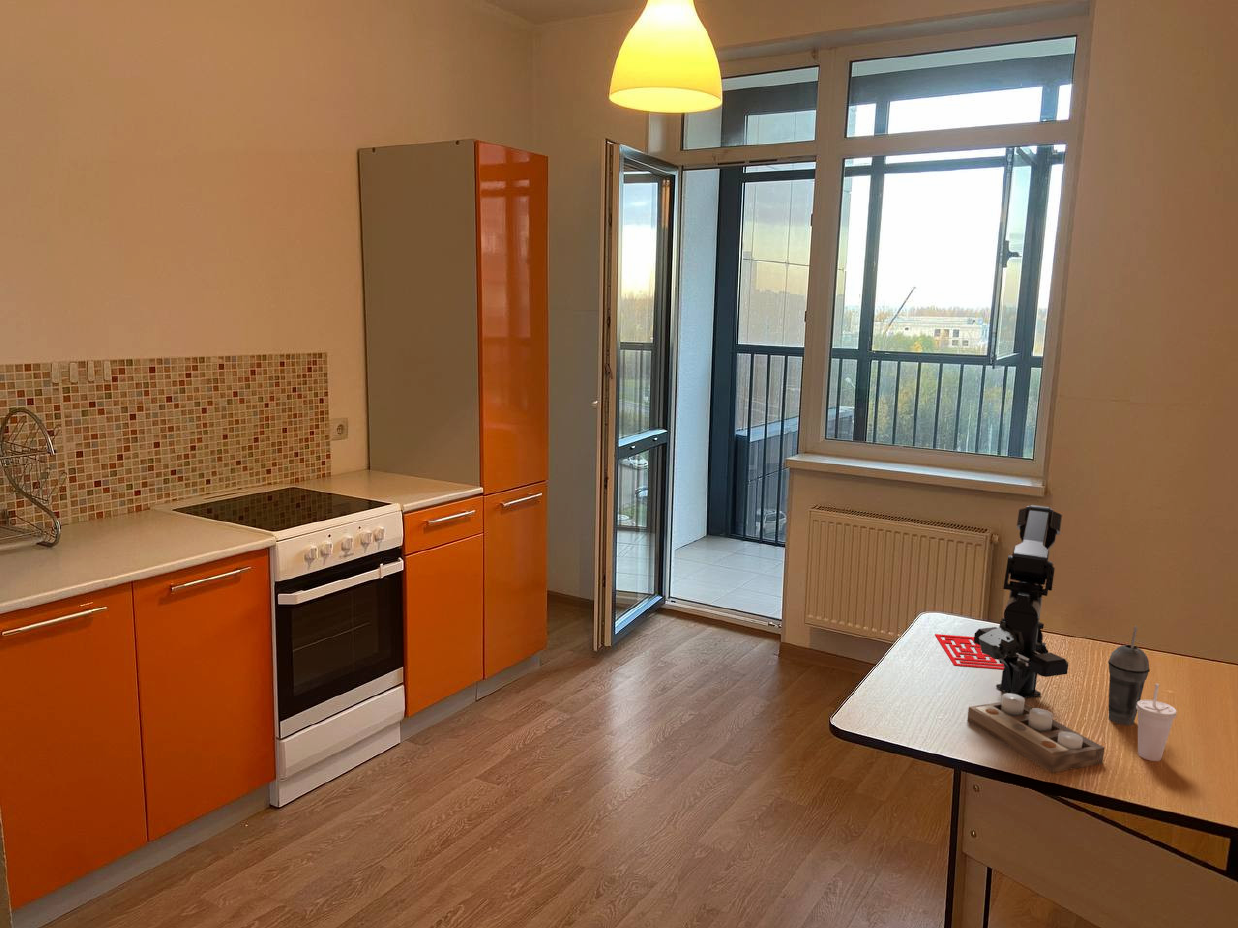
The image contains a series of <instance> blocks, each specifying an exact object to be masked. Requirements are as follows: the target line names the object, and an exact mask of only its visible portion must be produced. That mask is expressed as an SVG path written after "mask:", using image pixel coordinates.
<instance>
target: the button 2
mask: <svg viewBox="0 0 1238 928" xmlns="http://www.w3.org/2000/svg"><path fill="white" fill-rule="evenodd" d="M1082 742H1083V738H1082V737H1081V736H1080V735H1078V734H1075V733H1072V732H1066V731H1063V732H1059V734H1058V741H1057V743H1058V744H1060V745H1062V746H1064V747H1065V748H1067V749H1069V750H1076V749H1081V748H1082Z"/></svg>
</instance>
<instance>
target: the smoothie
mask: <svg viewBox="0 0 1238 928" xmlns="http://www.w3.org/2000/svg"><path fill="white" fill-rule="evenodd" d="M1159 686H1160V684H1159V683H1155V684H1154V692H1153V698H1152V699H1140V701H1138V702H1137V706H1136V708H1137V710H1138V711H1137V754H1138V756H1139V757H1141V758H1142V759H1145V760H1148V761H1153V762H1160V761H1161V760H1162V758H1163V754H1164V751H1165V748H1166V744H1167V741H1168V738H1169V735H1170V732H1171V728H1172V725H1173V722H1174V719H1176V718H1177V711H1178V710H1177V709H1176V708H1175V707H1174V706H1173V705H1172V706H1171V704H1168V703H1165V702H1163V701H1159V700H1158V695H1159V688H1160V687H1159Z"/></svg>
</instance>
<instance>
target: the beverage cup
mask: <svg viewBox="0 0 1238 928" xmlns="http://www.w3.org/2000/svg"><path fill="white" fill-rule="evenodd" d="M1137 629H1138V626H1136V625H1134V627H1133V633H1132V639H1131V644H1124V645H1120V646H1118V647H1117V648H1115V649H1114V650H1113V651H1112V653H1111V654H1110V656H1109V659H1108V661H1107V663H1108V673H1109V684H1108V685H1109V686H1108V720H1109V721H1111V722H1112V723H1115V724H1118V725H1123V726H1132V725H1134V724H1135V720H1136V717H1137V716H1138V710H1137V708H1136V706H1137V702H1138V701H1140V700H1142V699H1141V697H1142V694H1143V690H1144V687H1145V683H1146V680H1147V678H1148V676H1149V672H1151V671H1150V661H1149V657H1148V656H1147V654H1146V652H1144V650H1143V649H1141V648H1139V647H1138V646H1135V643H1136V636H1137Z"/></svg>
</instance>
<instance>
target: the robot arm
mask: <svg viewBox="0 0 1238 928" xmlns="http://www.w3.org/2000/svg"><path fill="white" fill-rule="evenodd" d="M1062 517H1063V515H1062V514H1061V513H1058V512H1057V511H1054V508H1051V507H1049V506H1043V505H1035V504H1030V505H1026V507H1025V508H1024V507H1023V508H1020V509H1019V510H1018V516H1017V522H1016V529H1017V530H1019V537H1020V541H1021V542H1020V543H1019V544H1016V545H1014V547H1013V550H1012V554H1011V555H1008V557H1007V563H1006V568H1005V575H1004V576H1005V577H1004V580H1003V581H1004V582H1003V588H1002V589H1003V590H1008V591H1009V595H1008V600H1007V602H1006V605H1005V609H1004V612H1003V617H1002V618H1001V620H1000V622H999V626H998V627H996V626H994V627H993V626H992V627H984V628H978V629H977V630H976V632H974V634H973V635H974V636H973V637H974V642H973V644H975V643H976V644H978V645H980V646H981V652H982V653H983V654H987V655H989V656H991V657H992V658H993V659H995V660H996V661H997V660H998V659H999V660H1000V661H999V660H998V661H999V664H1002V663H1003V665H1004V670H1002V674H1001V680H1000V683H997V684H995V685H996V686H995V687H996V688H997V689H998V690H999V689H1000V690H1001V691H1003V692H1004V693H1005V694H1006V693H1011V694H1016V695H1019V696H1022V697H1023V698H1024V699H1026V698H1033V697H1038V696H1039V697H1041V695H1042V693H1041V691H1038V690H1036V687H1037V679H1038V676H1040V677H1044V678H1047V677H1056V676H1062V675H1063V676H1064V675H1068V670H1069V662H1068V661H1067V659H1066V658H1065V657H1064V658H1063V657H1061V656H1060V655H1057V654H1055V653H1052V652H1049V650H1048V648H1047V646H1046V644H1047V643H1046V642H1043V638H1044V635H1043V632H1042V630H1044V626H1045V623H1043V622H1040V620H1041V618H1040V617H1041V609H1042V601H1043V596H1045V597H1047V596H1048V593H1049V591H1053V586H1054V585H1053V583H1054V576H1055V570H1056V569H1055V568H1056V567H1054V563H1053V561H1051V560H1050V561H1049V557H1050V550H1051V549H1052V548H1053V546H1054V545H1055V544H1056V540H1057V535H1061V529H1062V521H1063V520H1062V519H1063V518H1062ZM1009 579H1010V580H1009ZM1044 585H1045V586H1044ZM1044 587H1045V588H1044Z"/></svg>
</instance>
